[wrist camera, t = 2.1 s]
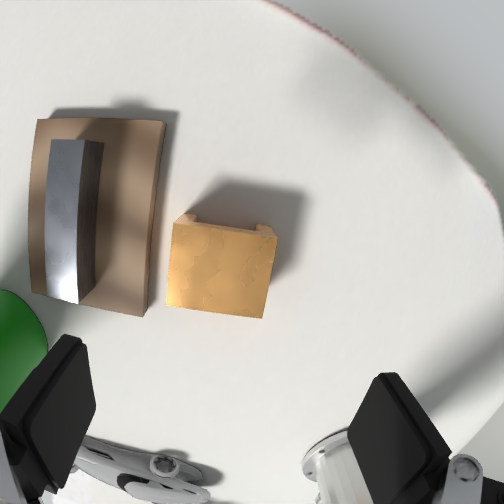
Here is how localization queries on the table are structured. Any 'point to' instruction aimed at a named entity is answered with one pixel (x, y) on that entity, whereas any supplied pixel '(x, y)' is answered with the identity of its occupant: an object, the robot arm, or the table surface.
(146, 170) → the rail base
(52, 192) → the rail
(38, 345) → the motor
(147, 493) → the car model
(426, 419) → the robot arm
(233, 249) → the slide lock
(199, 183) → the table surface
